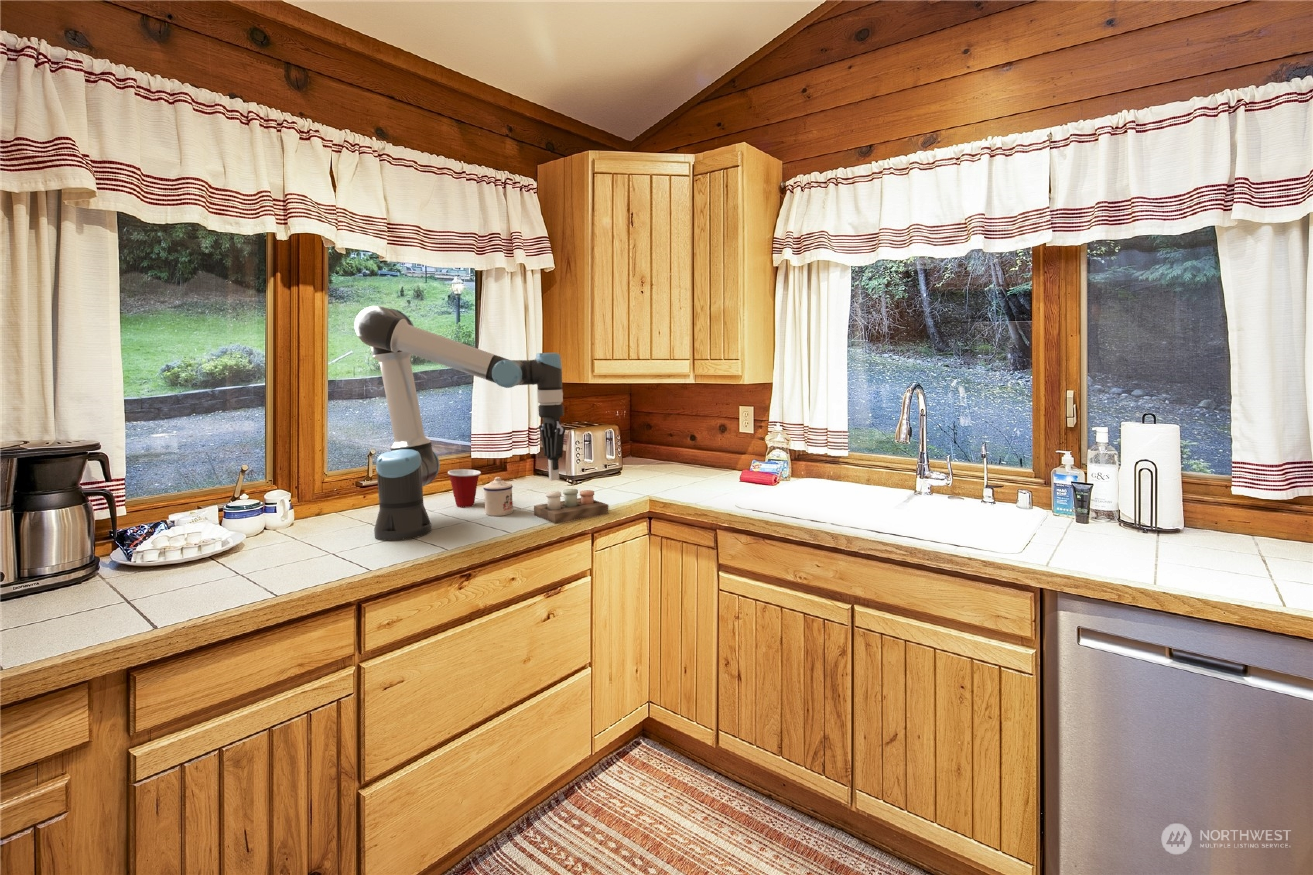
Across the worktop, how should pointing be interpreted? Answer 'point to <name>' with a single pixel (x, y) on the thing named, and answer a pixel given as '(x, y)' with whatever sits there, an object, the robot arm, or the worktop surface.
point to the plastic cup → (464, 486)
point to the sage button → (570, 497)
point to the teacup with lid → (498, 498)
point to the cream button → (553, 500)
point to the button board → (571, 511)
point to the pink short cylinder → (587, 497)
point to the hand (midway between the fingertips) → (554, 479)
